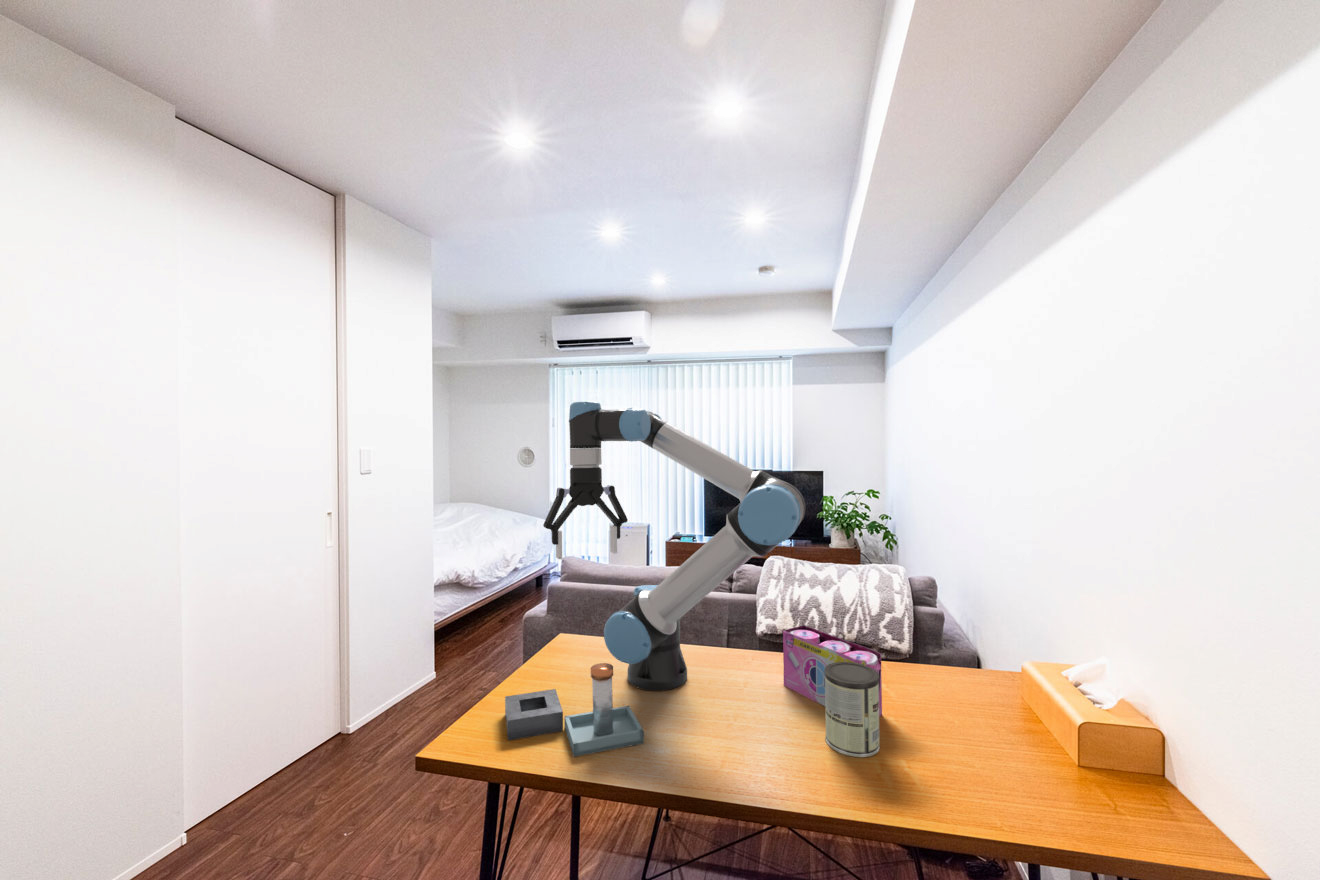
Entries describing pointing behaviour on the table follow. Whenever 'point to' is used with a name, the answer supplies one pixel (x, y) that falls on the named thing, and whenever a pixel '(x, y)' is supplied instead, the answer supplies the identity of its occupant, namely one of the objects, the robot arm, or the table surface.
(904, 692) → the table surface
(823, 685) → the gum box
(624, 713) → the tray
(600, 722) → the pin
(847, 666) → the coffee can
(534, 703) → the block
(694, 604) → the robot arm
